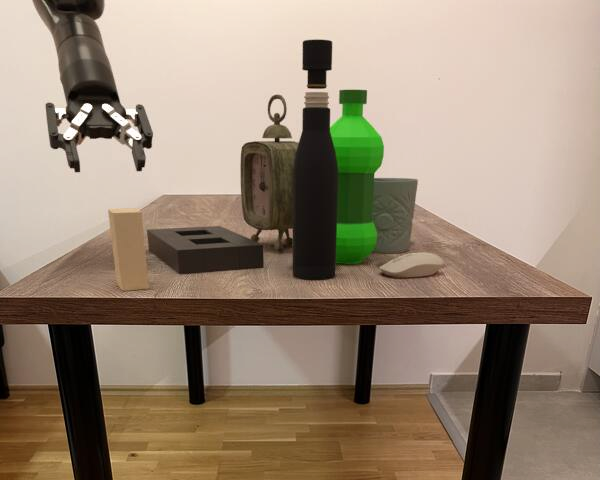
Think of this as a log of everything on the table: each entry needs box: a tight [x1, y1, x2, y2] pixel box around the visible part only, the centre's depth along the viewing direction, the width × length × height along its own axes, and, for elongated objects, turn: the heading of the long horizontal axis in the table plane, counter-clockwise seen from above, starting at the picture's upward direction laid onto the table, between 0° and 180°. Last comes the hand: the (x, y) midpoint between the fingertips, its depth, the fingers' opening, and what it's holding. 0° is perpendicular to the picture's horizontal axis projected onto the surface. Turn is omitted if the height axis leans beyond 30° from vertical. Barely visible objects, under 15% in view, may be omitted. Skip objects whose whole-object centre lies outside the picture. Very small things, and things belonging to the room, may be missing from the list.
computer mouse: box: [379, 252, 444, 279], centre depth 96 cm, size 6×10×3 cm, turn 111°
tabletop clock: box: [239, 94, 299, 253], centre depth 113 cm, size 14×9×25 cm, turn 27°
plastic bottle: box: [330, 89, 385, 265], centre depth 100 cm, size 10×10×25 cm
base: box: [146, 225, 265, 275], centre depth 107 cm, size 14×23×4 cm, turn 23°
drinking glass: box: [372, 177, 419, 254], centre depth 114 cm, size 10×10×12 cm
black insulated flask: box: [292, 39, 338, 281], centre depth 89 cm, size 6×6×30 cm
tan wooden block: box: [107, 207, 150, 292], centre depth 86 cm, size 4×5×10 cm
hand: (109, 167), depth 89 cm, fingers open, 8 cm apart
